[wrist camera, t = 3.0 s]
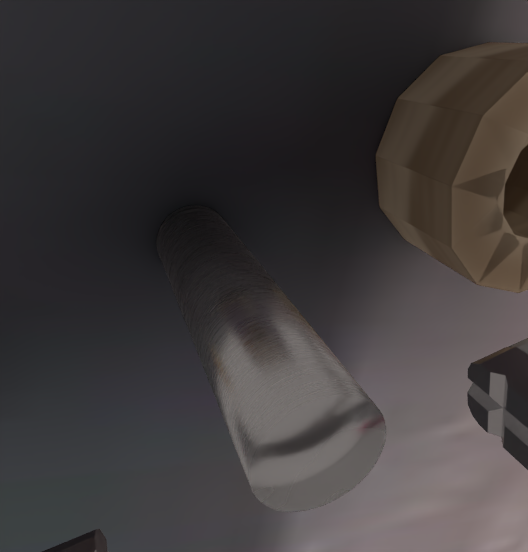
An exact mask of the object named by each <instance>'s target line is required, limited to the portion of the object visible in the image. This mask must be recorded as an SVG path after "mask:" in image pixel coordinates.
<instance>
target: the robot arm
mask: <svg viewBox="0 0 528 552" xmlns="http://www.w3.org/2000/svg"><path fill="white" fill-rule="evenodd" d="M468 378H469V379H470V380H471V381H472V382H473V384H472V386H471V388H470V389H469V391H468V406H469V408H470V410H471V413H472V415H473V417H474V418H475V420H476V421H477V422H478V424H479V425H480V426H481V427H482V428H483V429H484V430H485V431H486V432H487V433H490V434H493V435H496V436H499V437H501V438H502V443H503V448H505V449H506V450H507V451H508V452H509V453H510V454H511V455H512V456H513V457H514V458H515V459H516V460H518V461H519V462H520V463H521V464H522V465H523V466H524V467H525V468H526V469H527V470H528V338H527V339H525V340H522V341H520V342H518V343H516V344H513V345H511V346H509V347H506V348H503V349H501V350H499V351H497V352H495V353H493V354H490V355H488V356H486V357H484V358H482V359H479V360H477V361H475V362H473V363H471V365H470V366H469V368H468ZM42 552H108V551H107V541H106V538H105V536H104V535H103V533H102V532H101V530H100V529H96V530H93V531H91V532H89V533H86V534H84V535H81V536H79V537H76V538H74V539H72V540H69V541H67V542H64V543H62V544H59V545H57V546H55V547H52V548H50V549H47V550H45V551H42Z"/></svg>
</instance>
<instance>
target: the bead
mask: <svg viewBox="0 0 528 552" xmlns="http://www.w3.org/2000/svg"><path fill="white" fill-rule="evenodd" d="M376 169H377V182H378V195H379V207H380V208H381V210H382V211H383V212H384V214H385V215H386V216H387V217H388V219H389V220H390V221H391V223H392V224H393V225H394V227H395V228H396V229H397V230H398V232H399V233H400V234H401V236H402V237H403V238H404V240H406V241H408V242H409V243H411V244H412V245H414V246H416V247H417V248H419V249H420V250H422V251H424V252H425V253H427V254H429V255H430V256H432V257H433V258H435V259H437V260H438V261H440V262H441V263H443V264H445V265H446V266H448V267H449V268H451V269H453V270H454V271H456V272H458V273H459V274H461V275H462V276H464V277H466V278H467V279H469V280H470V281H472V282H474V283H475V284H477V285H480V286H485V287H490V288H496V289H501V290H506V291H511V292H516V293H520V292H523V291H525V290H528V43H498V42H488V43H484V44H481V45H477V46H473V47H470V48H466V49H462V50H459V51H455V52H451V53H448V54H444V55H440V56H439V57H438V58H437V59H436V60H435V61H434V62H433V63H432V64H431V65H430V66H429V67H428V68H427V69H426V70H425V71H424V72H423V73H422V74H421V75H420V76H419V77H418V78H417V79H416V80H415V81H414V82H413V83H412V84H411V85H410V86H409V87H408V88H407V89H406V90H405V91H404V92H403V93H402V94H401V95H400V96H399V97H398V99H397V101H396V103H395V106H394V108H393V111H392V114H391V116H390V119H389V121H388V124H387V127H386V129H385V132H384V134H383V137H382V140H381V142H380V145H379V147H378V150H377V153H376Z"/></svg>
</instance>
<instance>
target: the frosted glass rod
mask: <svg viewBox="0 0 528 552" xmlns="http://www.w3.org/2000/svg"><path fill="white" fill-rule="evenodd" d="M156 246H157V251H158V254H159V257H160V259H161V262H162V264H163V267H164V269H165V272H166V274H167V277H168V279H169V282H170V284H171V287H172V289H173V292H174V294H175V297H176V300H177V302H178V305H179V307H180V310H181V312H182V315H183V317H184V320H185V322H186V325H187V327H188V330H189V332H190V335H191V337H192V340H193V342H194V345H195V347H196V350H197V352H198V355H199V358H200V360H201V363H202V365H203V368H204V370H205V373H206V375H207V378H208V380H209V383H210V385H211V388H212V390H213V393H214V395H215V398H216V400H217V403H218V405H219V408H220V410H221V413H222V416H223V418H224V421H225V423H226V426H227V428H228V431H229V433H230V436H231V438H232V441H233V443H234V446H235V448H236V451H237V453H238V456H239V458H240V461H241V463H242V466H243V468H244V471H245V474H246V476H247V479H248V481H249V484H250V486H251V489H252V491H253V493H254V495H255V496H256V497H257V499H258V500H259V501H260V502H261V503H263V504H264V505H266V506H267V507H270V508H272V509H275V510H279V511H285V512H298V511H306V510H310V509H314V508H317V507H321V506H323V505H326V504H328V503H330V502H332V501H334V500H336V499H338V498H340V497H341V496H343V495H344V494H346V493H347V492H349V491H350V490H351V489H353V488H354V487H355V486H356V485H357V484H359V483H360V482H361V481H362V480H363V479H364V478H365V477H366V475H367V474H368V473H369V472H370V471H371V469H372V468H373V466H374V465H375V464H376V462H377V460H378V458H379V457H380V454H381V452H382V450H383V447H384V443H385V438H386V425H385V420H384V418H383V415H382V413H381V412H380V410H379V409H378V408H377V406H376V405H375V404H374V403H373V402H372V400H371V399H370V398H369V397H368V395H367V394H366V393H365V392H364V391H363V389H362V388H361V387H360V386H359V384H358V383H357V382H356V381H355V380H354V378H353V377H352V376H351V375H350V373H349V372H348V371H347V370H346V369H345V367H344V366H343V365H342V364H341V362H340V361H339V360H338V359H337V358H336V356H335V355H334V354H333V353H332V351H331V350H330V349H329V348H328V347H327V345H326V344H325V343H324V342H323V340H322V339H321V338H320V337H319V335H318V334H317V333H316V332H315V331H314V329H313V328H312V327H311V326H310V324H309V323H308V322H307V321H306V320H305V318H304V317H303V316H302V315H301V313H300V312H299V311H298V310H297V309H296V307H295V306H294V305H293V304H292V302H291V301H290V300H289V299H288V298H287V296H286V295H285V294H284V293H283V291H282V290H281V289H280V288H279V287H278V285H277V284H276V283H275V282H274V280H273V279H272V278H271V277H270V276H269V274H268V273H267V272H266V271H265V269H264V268H263V267H262V266H261V265H260V263H259V262H258V261H257V260H256V258H255V257H254V256H253V255H252V254H251V252H250V251H249V250H248V249H247V247H246V246H245V245H244V244H243V242H242V241H241V240H240V239H239V238H238V236H237V235H236V234H235V233H234V231H233V230H232V229H231V228H230V227H229V225H228V224H227V223H226V222H225V220H224V219H223V218H222V217H221V216H220V215H219V214H218V213H217V212H215V211H214V210H212V209H210V208H207V207H204V206H187V207H183V208H180V209H178V210H176V211H174V212H173V213H172V214H170V215H169V216H168V217H167V218H166V219H165V220H164V221H163V223H162V224H161V226H160V228H159V231H158V234H157V239H156Z"/></svg>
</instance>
